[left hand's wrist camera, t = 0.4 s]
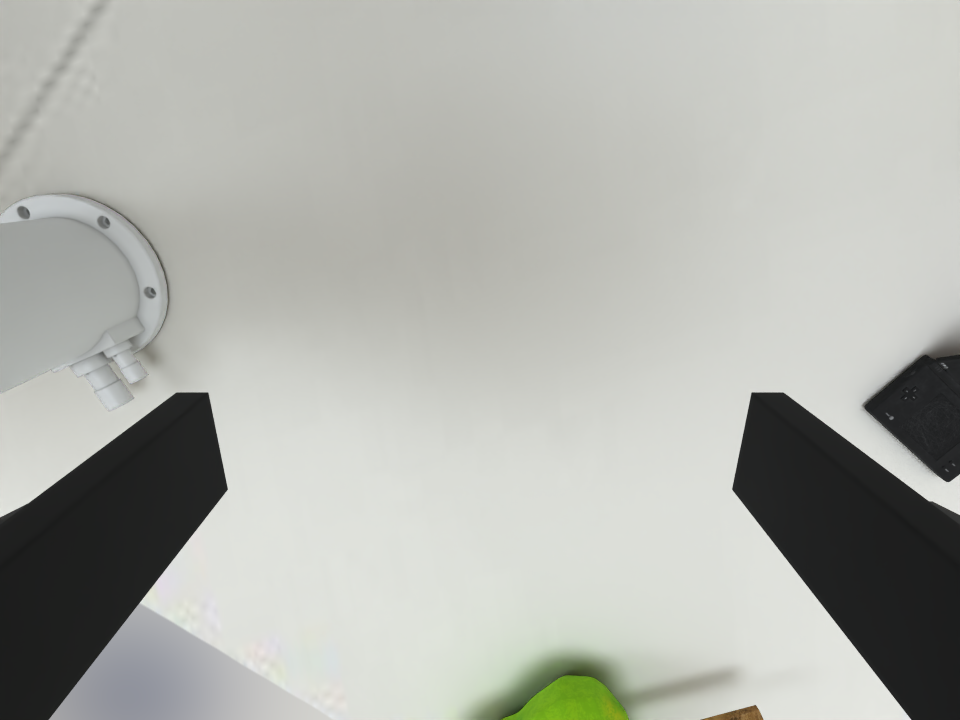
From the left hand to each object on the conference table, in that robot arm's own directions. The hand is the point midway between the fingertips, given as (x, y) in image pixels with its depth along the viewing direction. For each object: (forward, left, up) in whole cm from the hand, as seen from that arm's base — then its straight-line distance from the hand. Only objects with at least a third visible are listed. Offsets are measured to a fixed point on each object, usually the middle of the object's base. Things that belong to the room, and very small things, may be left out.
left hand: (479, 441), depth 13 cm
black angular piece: (+12, +39, -28) cm, 49 cm away
